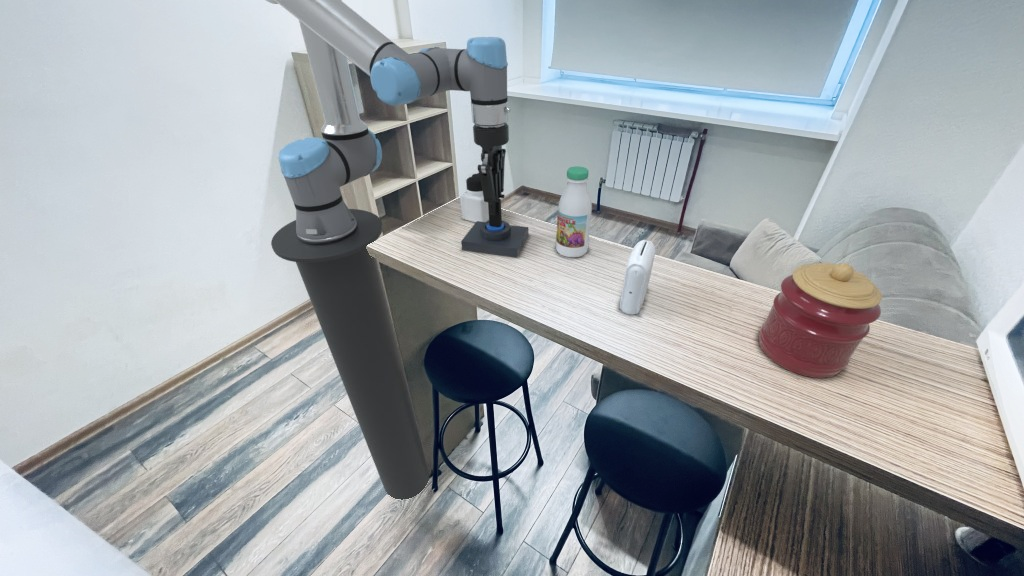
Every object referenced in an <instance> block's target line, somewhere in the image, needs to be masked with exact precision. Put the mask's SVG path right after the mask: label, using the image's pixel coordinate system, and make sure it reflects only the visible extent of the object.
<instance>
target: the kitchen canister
mask: <svg viewBox="0 0 1024 576" xmlns="http://www.w3.org/2000/svg"><path fill="white" fill-rule="evenodd" d="M780 290H781V292H779V293H778V294H776V295H775V297H774V299H773V302H772V303H773V304H772V306H771V309H770V310H769V313H768V314H767V317H766V319H765V321H764V322H763V323H762V325H761V327H760V329H759V336H758V343H759V346H760V348H761V350H762V351H763V353H765V355H766V356H767V357H768V358H769V359H770V360H771V361H773V362H774V363H776V364H777V365H779V366H781V367H782V368H783V369H786V370H787V371H790V372H793V373H795V374H797V375H801V376H804V377H805V376H806V377H810V378H820V379H822V378H831V377H835V376H836V375H838V374H839V373H840V372H841V371H842V370H844V369H845V368H846V367H847V366H848V364H849V363H850V361H851V359H852V356H853V355H854V353H855V351H856V350H857V349H858V347H859V346H860V344H861V343H862V341H863V339H864V338H866V337H867V336H868V335H869V334H870V331H871V330H870V329H871V327H870V325H871V324H872V323H874V322H876V321H877V320H879V318H880V317H881V314H882V310H881V309H882V308H881V306H880V303H881V302H882V300H883V294H882V292H881V290H880V289H879V287H877V285H876V284H875V283H874V282H872V280H871V279H870V278H869V277H868V276H866V275H865V274H863V273H862V272H860V271H857V270H855V269H854V267H853V266H852V265H851V264H849V263H846V262H841V263H830V262H817V263H807V264H803V265H799V266H797V267H796V268H795V269H794V270H793V272H792V274H791V275H788V276H786V277H784V279H783V280H782V281H781V283H780Z"/></svg>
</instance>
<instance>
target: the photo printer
mask: <svg viewBox="0 0 1024 576" xmlns="http://www.w3.org/2000/svg"><path fill="white" fill-rule="evenodd" d="M655 257H656V246H655V244H654V243H653V242H652V241H651V240H647V239H642V240H640V241H638V242H637V243H636V244H635V245H634V247H633V248H632V250H631V252H630V254H629V256H628V259H627V263H626V267H625V273H624V280H623V284H622V285H623V286H622V290H621V297H620V300H619V301H620V302H619V310H621V312H623V313H624V314H627V315H637V314H639V313H640V311H641V309H642V306H643V304H644V300H645V299H646V296H647V291H648V287H649V284H650V278H651V275H652V270H653V265H654V260H655Z"/></svg>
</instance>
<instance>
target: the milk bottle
mask: <svg viewBox="0 0 1024 576" xmlns="http://www.w3.org/2000/svg"><path fill="white" fill-rule="evenodd" d="M588 180H589V169H588V168H586V167H584V166H570V167H569V168H567V170H566V181H567V182H566V186H565V187H564V190H563V192H562V194H561V196H560V198H559V201H558V206H557V215H556V216H557V219H556V233H555V249H556V252H557V253H558V254H559V255H561V256H564V257H566V258H580V257H582V256H585V255H586V253H587V252H588V251H589V245H590V244H589V242H590V232H591V222H592V211H593V204H592V199H591V195H590V193H589V189H588V185H587V182H588Z"/></svg>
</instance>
